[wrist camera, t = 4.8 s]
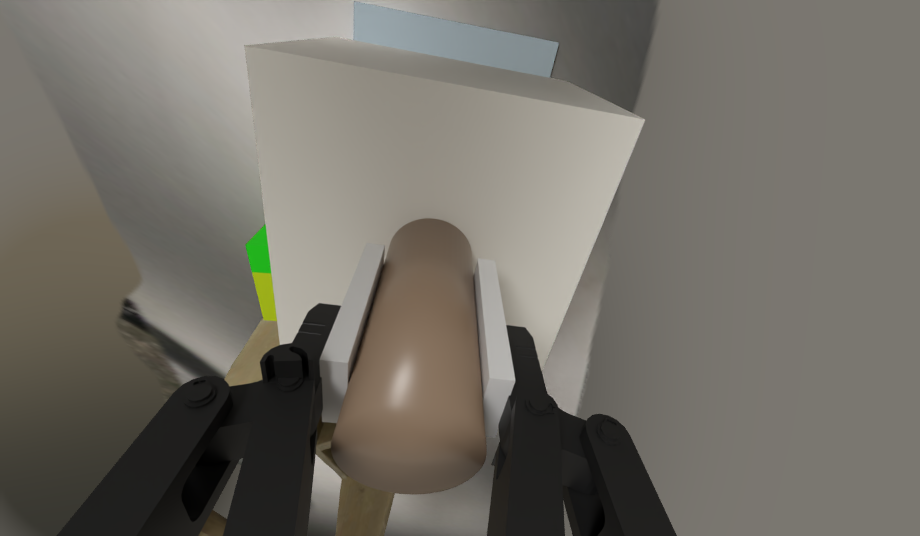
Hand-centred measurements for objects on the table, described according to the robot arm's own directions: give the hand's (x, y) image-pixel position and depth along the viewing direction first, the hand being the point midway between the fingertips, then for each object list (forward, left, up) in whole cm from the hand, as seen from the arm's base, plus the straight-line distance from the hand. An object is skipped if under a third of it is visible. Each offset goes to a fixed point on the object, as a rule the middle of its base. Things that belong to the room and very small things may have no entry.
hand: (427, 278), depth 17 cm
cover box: (0, 0, -14) cm, 14 cm away
